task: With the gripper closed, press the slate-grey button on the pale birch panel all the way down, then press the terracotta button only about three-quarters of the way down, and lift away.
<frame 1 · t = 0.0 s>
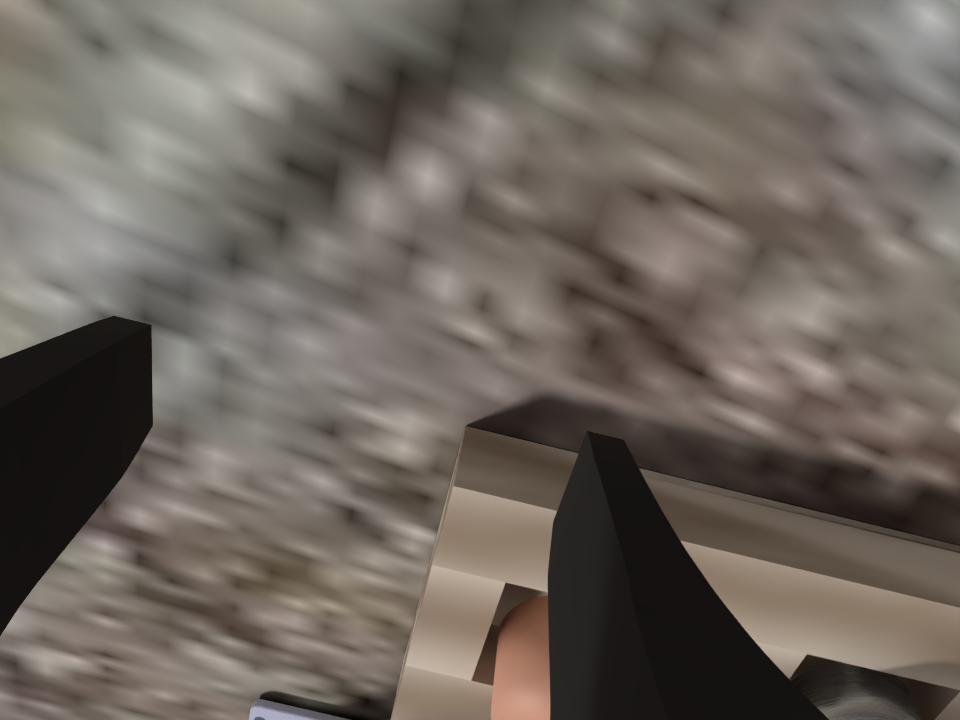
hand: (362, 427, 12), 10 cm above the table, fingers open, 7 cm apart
button panel: (692, 614, 28), on the table
terracotta button: (562, 677, 24), point 4 cm above the table, slide at 0.0 cm
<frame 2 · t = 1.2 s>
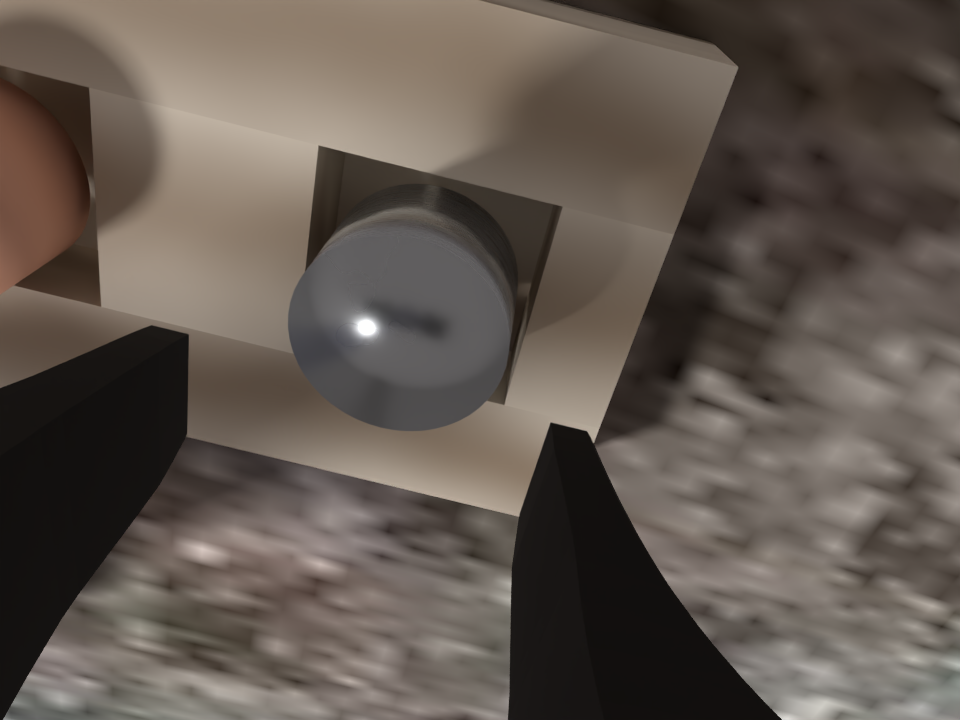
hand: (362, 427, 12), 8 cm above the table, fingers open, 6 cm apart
button panel: (250, 189, 19), on the table
grey button: (411, 306, 16), point 4 cm above the table, slide at 0.0 cm
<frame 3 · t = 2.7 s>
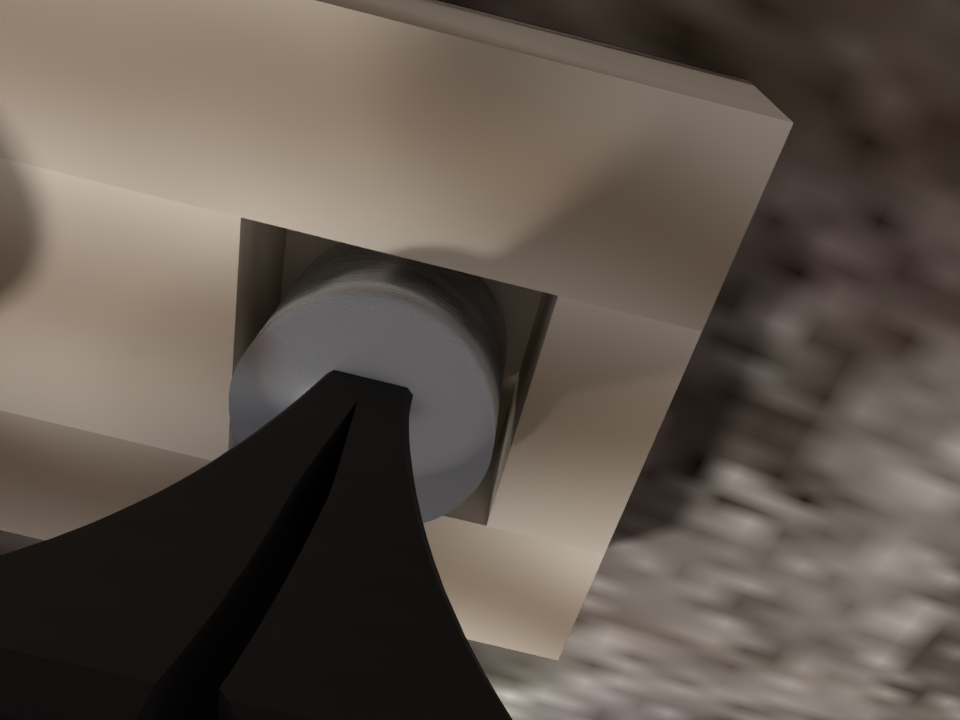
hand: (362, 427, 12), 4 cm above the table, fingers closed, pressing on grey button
button panel: (175, 254, 16), on the table
grey button: (380, 380, 14), point 3 cm above the table, slide at 1.3 cm, touching gripper
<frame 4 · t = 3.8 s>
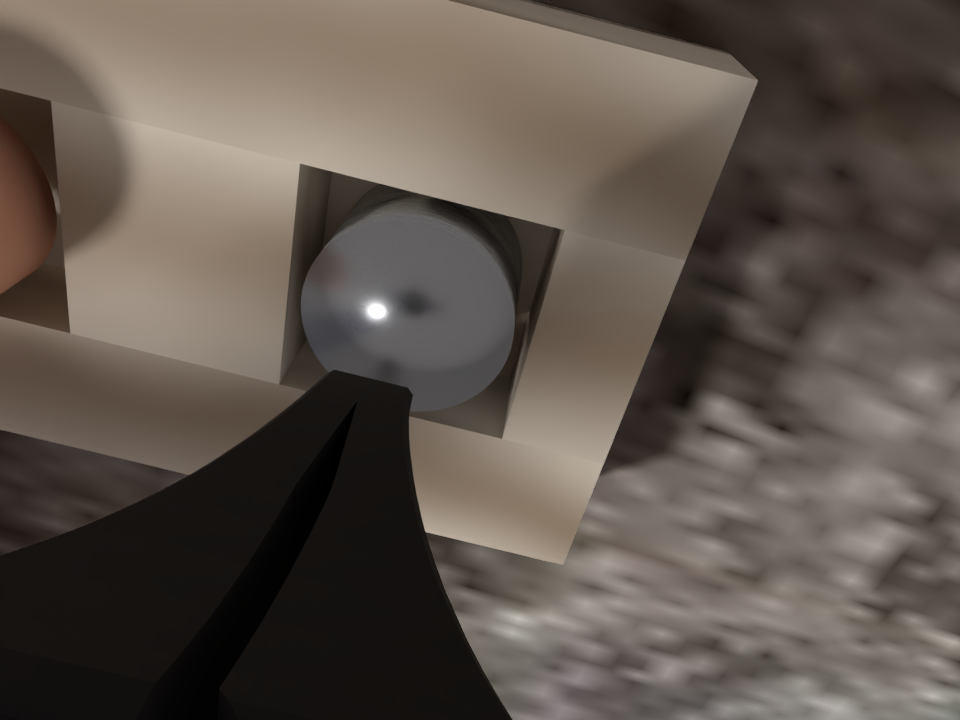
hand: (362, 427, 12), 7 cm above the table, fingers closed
button panel: (231, 206, 18), on the table
grey button: (419, 291, 17), point 2 cm above the table, slide at 2.1 cm
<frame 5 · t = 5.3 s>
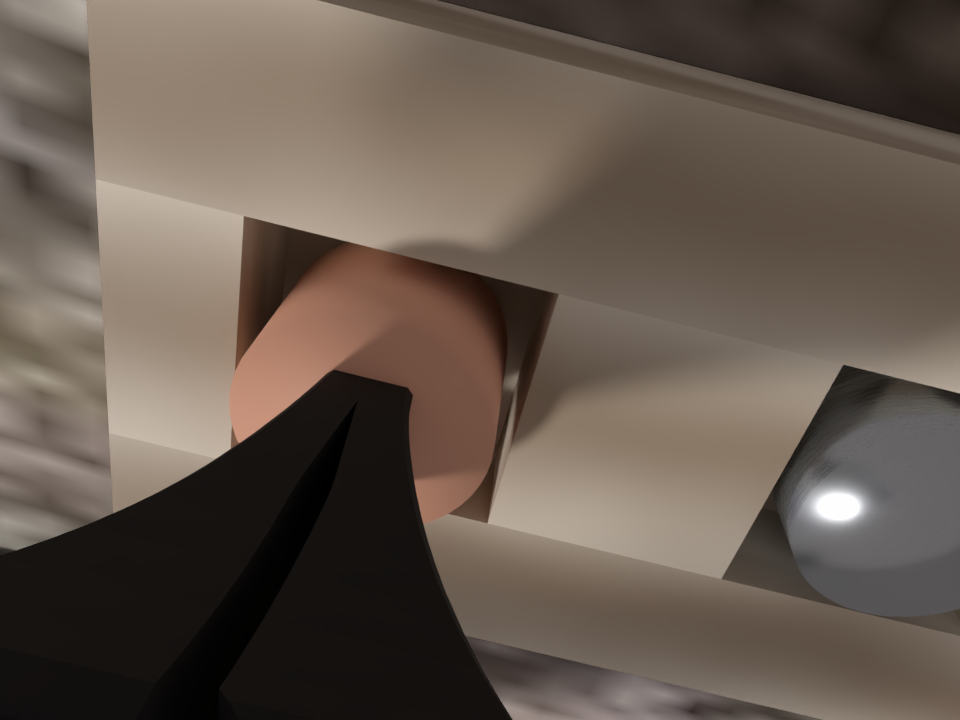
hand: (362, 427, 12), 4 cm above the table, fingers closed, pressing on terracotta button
button panel: (635, 365, 16), on the table
grey button: (891, 477, 15), point 2 cm above the table, slide at 2.1 cm
terracotta button: (380, 380, 14), point 3 cm above the table, slide at 1.2 cm, touching gripper
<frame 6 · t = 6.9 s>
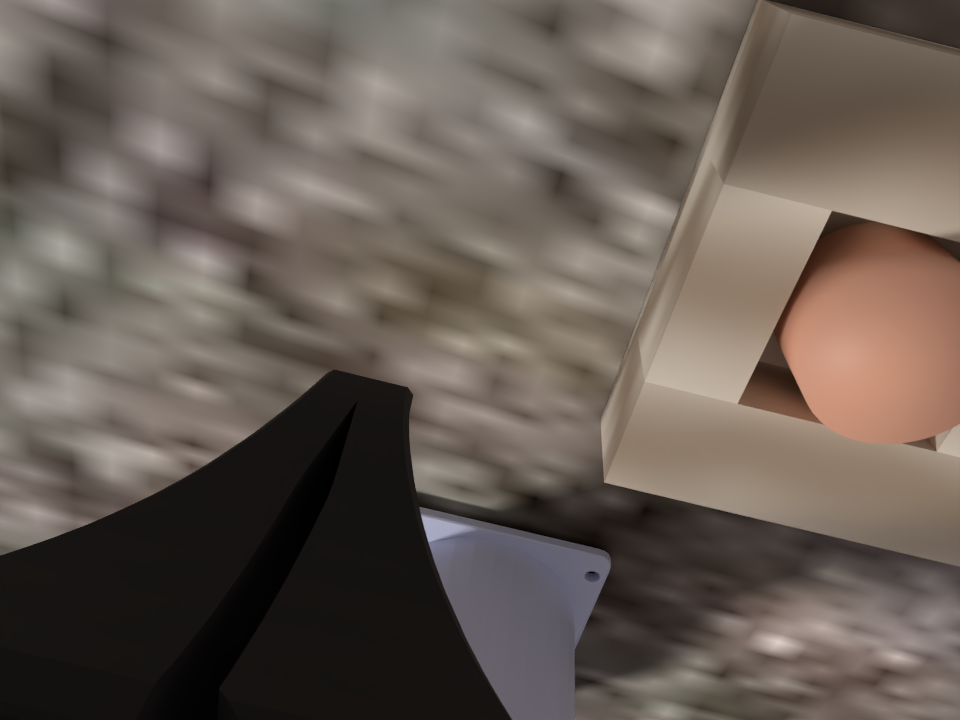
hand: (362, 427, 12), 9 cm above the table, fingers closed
terracotta button: (881, 331, 18), point 3 cm above the table, slide at 1.4 cm
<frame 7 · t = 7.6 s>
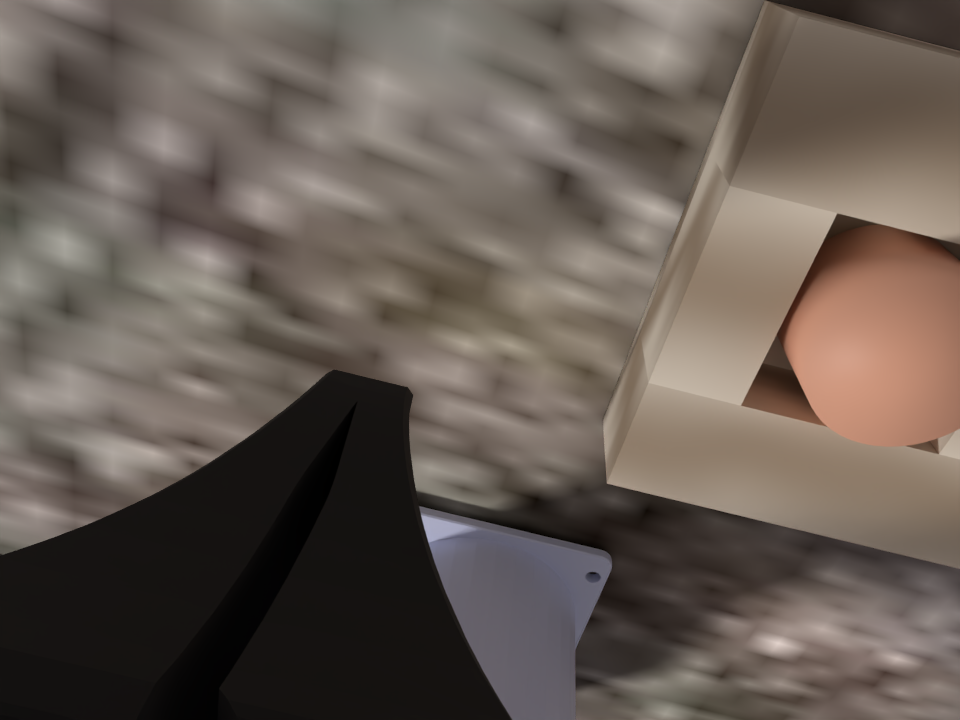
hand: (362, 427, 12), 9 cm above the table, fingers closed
terracotta button: (885, 334, 18), point 3 cm above the table, slide at 1.4 cm
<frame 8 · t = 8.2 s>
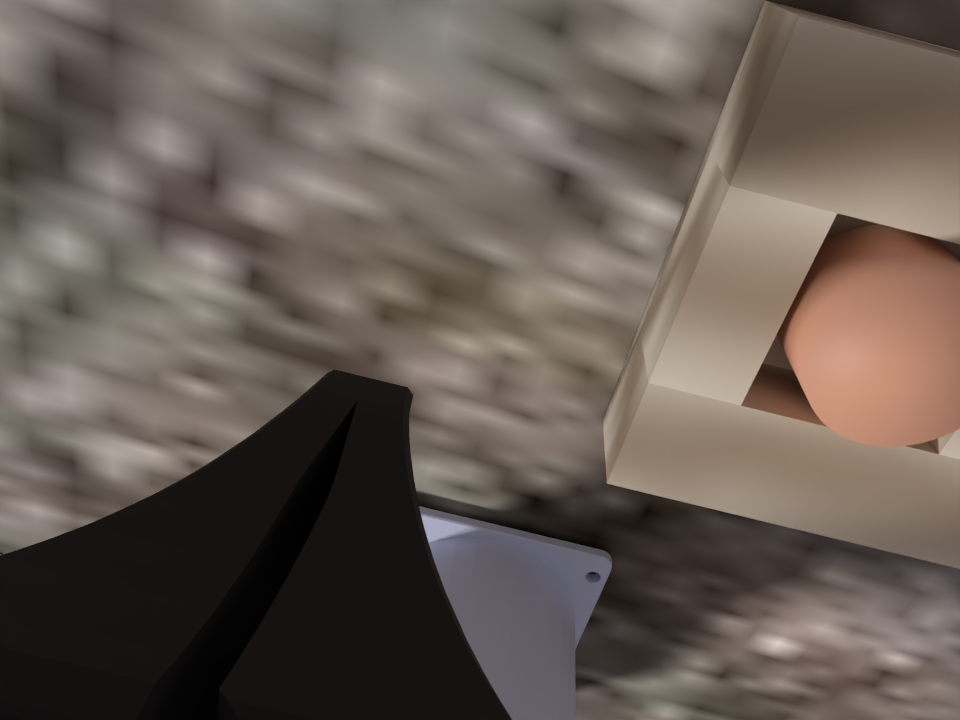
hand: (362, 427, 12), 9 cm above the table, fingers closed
terracotta button: (885, 334, 18), point 3 cm above the table, slide at 1.4 cm
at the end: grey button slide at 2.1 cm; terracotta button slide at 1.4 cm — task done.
